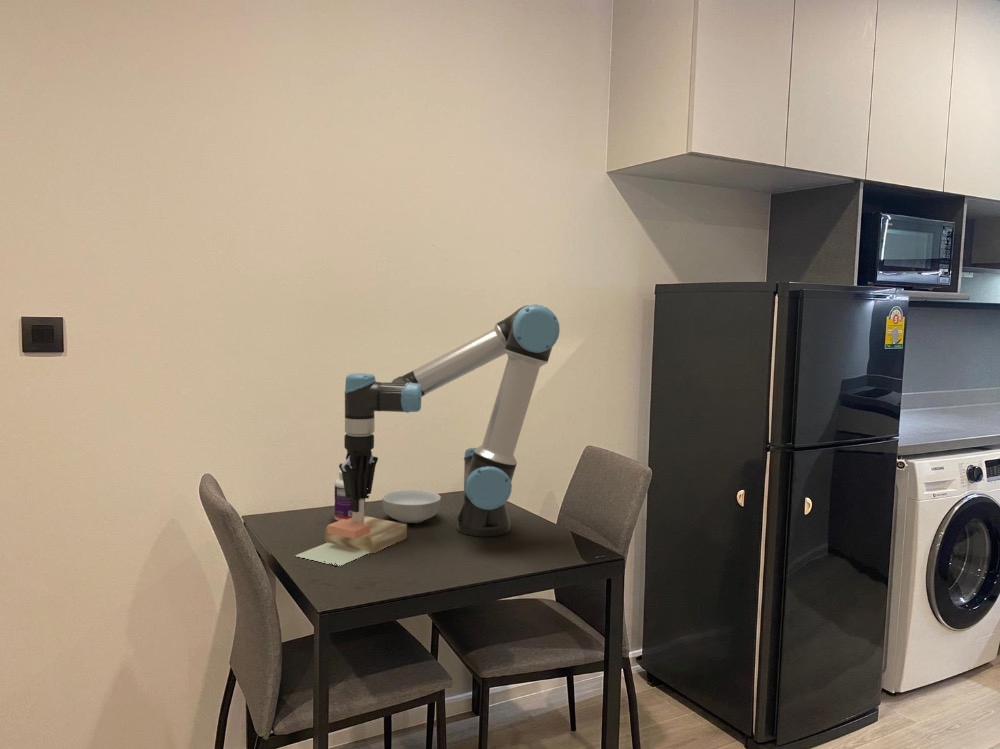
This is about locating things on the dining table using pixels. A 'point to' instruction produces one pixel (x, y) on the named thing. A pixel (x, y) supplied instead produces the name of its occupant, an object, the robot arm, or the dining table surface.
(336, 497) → the pill bottle
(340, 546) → the mat
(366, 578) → the dining table surface
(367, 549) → the wooden block
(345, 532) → the pink rectangular block
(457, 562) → the dining table surface
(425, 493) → the cereal bowl
